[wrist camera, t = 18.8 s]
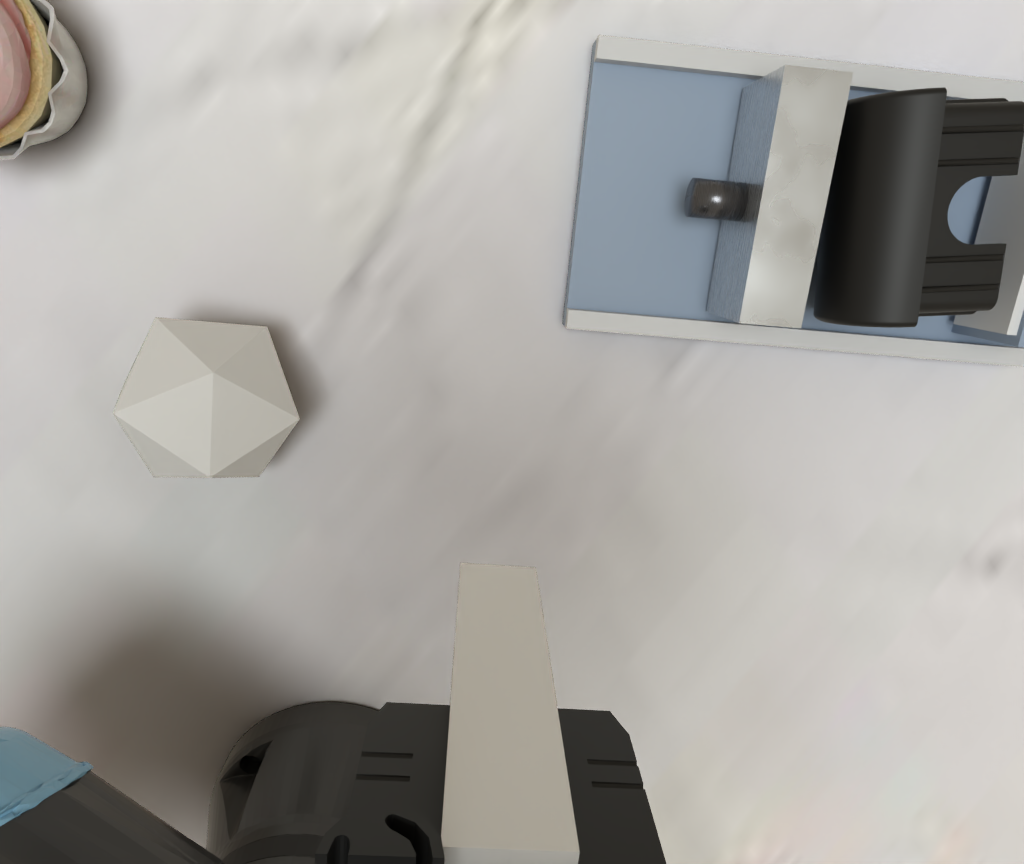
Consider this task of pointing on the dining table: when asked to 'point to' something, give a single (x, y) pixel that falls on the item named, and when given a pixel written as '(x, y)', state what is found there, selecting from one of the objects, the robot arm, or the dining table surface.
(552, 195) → the dining table surface
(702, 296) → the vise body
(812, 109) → the block
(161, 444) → the die
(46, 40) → the cupcake
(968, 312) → the end cap
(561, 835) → the robot arm
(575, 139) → the dining table surface
